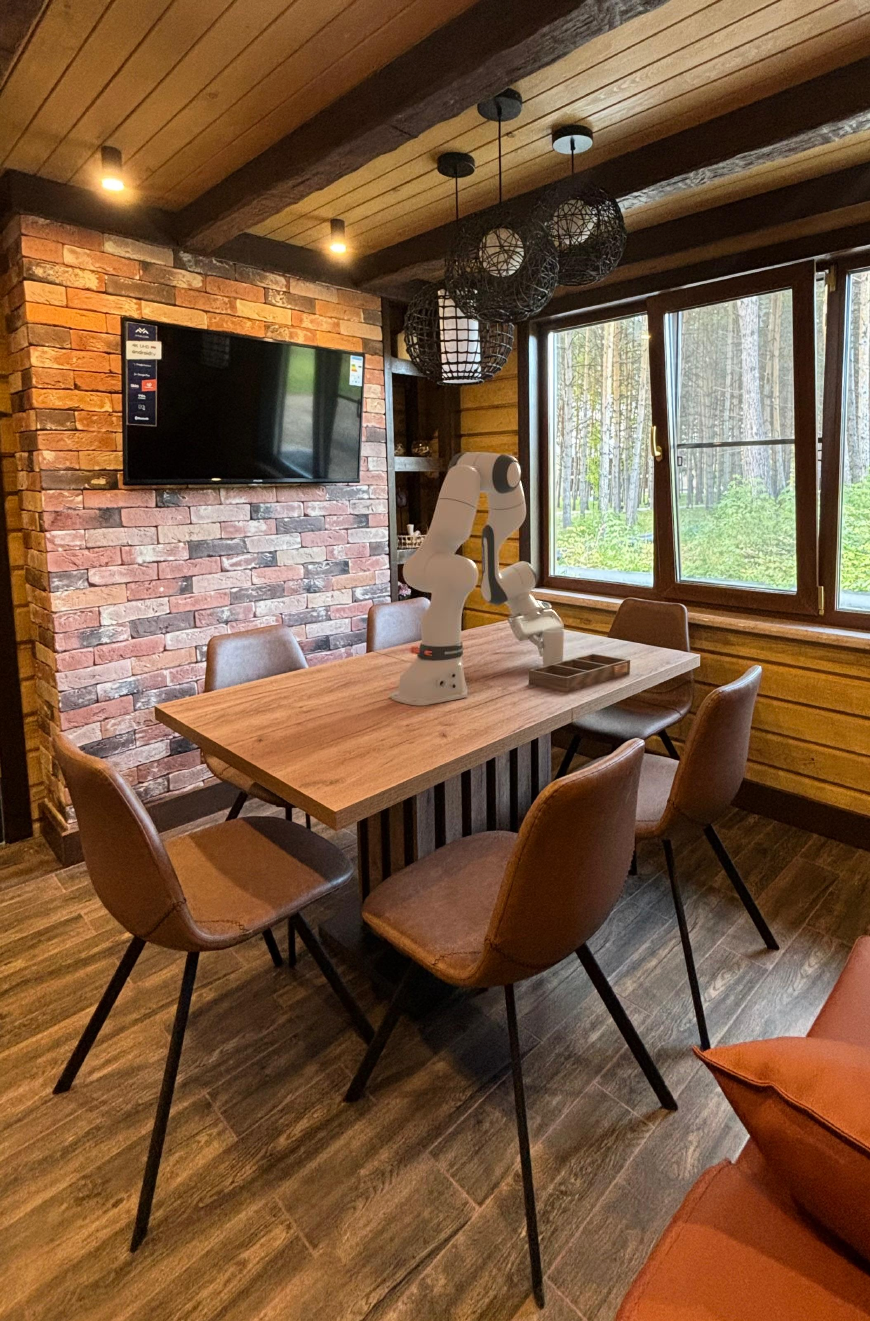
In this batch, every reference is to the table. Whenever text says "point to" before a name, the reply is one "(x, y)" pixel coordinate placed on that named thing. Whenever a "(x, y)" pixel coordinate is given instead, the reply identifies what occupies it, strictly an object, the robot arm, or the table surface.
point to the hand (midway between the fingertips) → (550, 645)
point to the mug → (552, 645)
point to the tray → (579, 672)
